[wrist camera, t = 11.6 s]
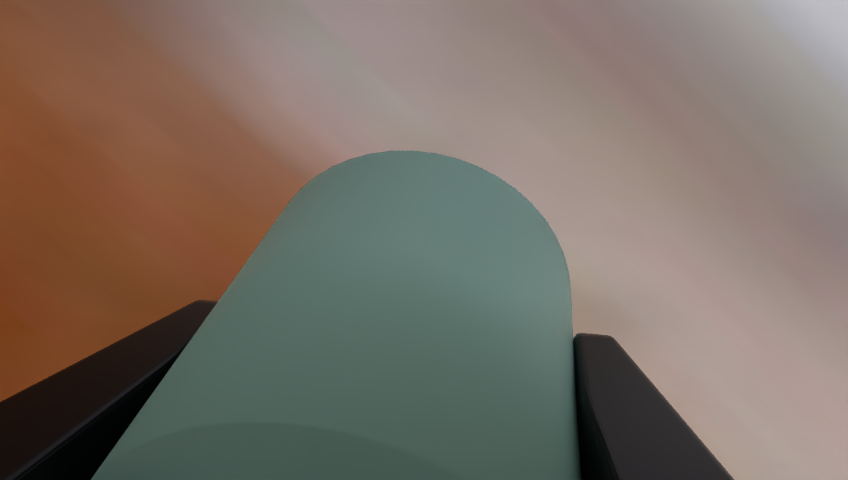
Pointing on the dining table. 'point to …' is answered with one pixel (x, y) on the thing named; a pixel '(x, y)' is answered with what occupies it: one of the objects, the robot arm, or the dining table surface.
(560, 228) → the dining table surface
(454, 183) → the bead
